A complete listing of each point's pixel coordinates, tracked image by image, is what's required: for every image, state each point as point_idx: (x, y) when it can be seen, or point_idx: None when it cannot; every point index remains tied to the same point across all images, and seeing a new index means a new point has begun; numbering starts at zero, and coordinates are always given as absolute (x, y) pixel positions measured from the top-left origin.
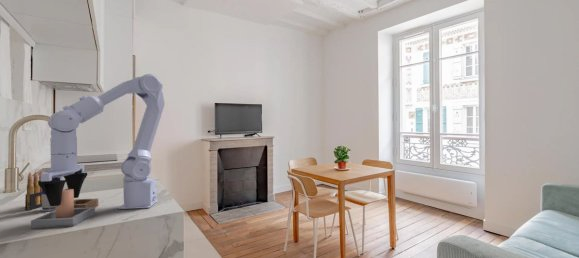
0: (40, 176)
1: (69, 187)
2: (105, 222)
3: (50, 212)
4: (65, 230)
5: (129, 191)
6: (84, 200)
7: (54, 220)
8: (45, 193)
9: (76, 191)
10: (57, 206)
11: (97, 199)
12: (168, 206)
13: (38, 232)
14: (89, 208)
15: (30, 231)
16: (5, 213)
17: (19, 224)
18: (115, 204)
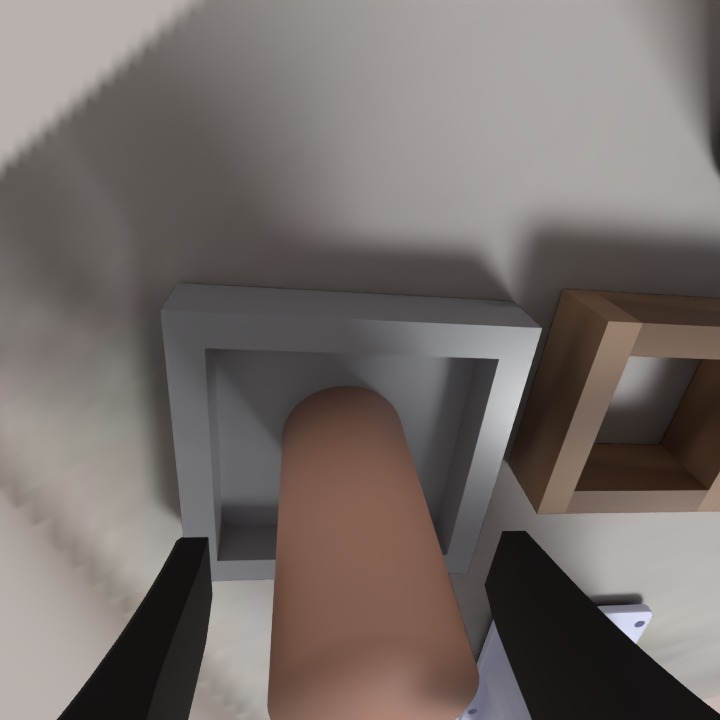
0: None
1: (573, 661)
2: (249, 644)
3: (423, 326)
4: (121, 533)
5: None
6: None
7: (179, 477)
8: (72, 704)
9: (516, 654)
10: (279, 518)
11: (703, 507)
12: None
13: (83, 398)
14: (444, 557)
15: (105, 324)
16: None
17: (322, 70)
18: (647, 547)
